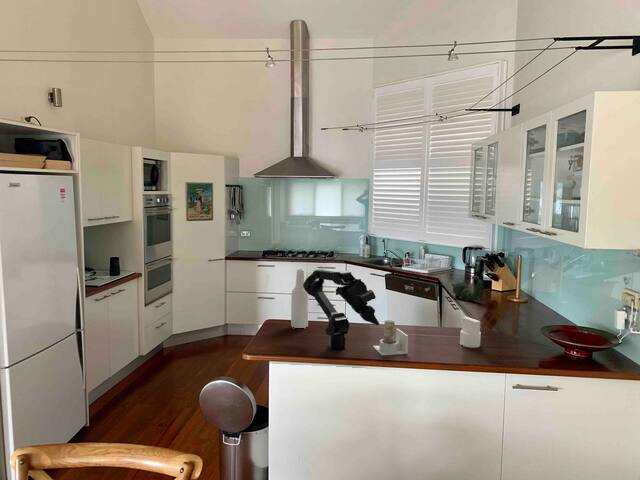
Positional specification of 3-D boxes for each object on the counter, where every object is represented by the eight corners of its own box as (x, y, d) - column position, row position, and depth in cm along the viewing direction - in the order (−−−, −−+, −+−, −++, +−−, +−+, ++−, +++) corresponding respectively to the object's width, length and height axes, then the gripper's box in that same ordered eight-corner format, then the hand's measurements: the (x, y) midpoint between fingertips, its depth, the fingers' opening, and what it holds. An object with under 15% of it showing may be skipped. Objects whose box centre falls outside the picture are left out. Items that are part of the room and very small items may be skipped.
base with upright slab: (455, 342, 213) (457, 317, 212) (470, 340, 217) (472, 316, 216) (469, 348, 205) (470, 322, 204) (484, 346, 209) (485, 320, 207)
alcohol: (311, 327, 232) (312, 270, 230) (295, 330, 228) (296, 271, 225) (302, 323, 240) (303, 267, 237) (288, 325, 236) (288, 268, 233)
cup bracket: (382, 355, 193) (382, 337, 193) (373, 347, 204) (373, 329, 203) (407, 353, 196) (408, 335, 196) (397, 345, 207) (397, 328, 206)
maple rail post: (386, 351, 197) (386, 323, 196) (382, 347, 202) (383, 320, 200) (395, 350, 198) (396, 322, 197) (391, 347, 203) (392, 319, 202)
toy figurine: (484, 305, 298) (454, 294, 319) (487, 277, 295) (457, 268, 315) (474, 306, 293) (445, 295, 314) (478, 278, 290) (448, 269, 310)
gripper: (370, 288, 187) (395, 313, 190) (359, 280, 205) (381, 303, 208) (352, 307, 186) (377, 332, 189) (341, 298, 204) (364, 321, 207)
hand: (375, 321), depth 198 cm, fingers open, 9 cm apart
